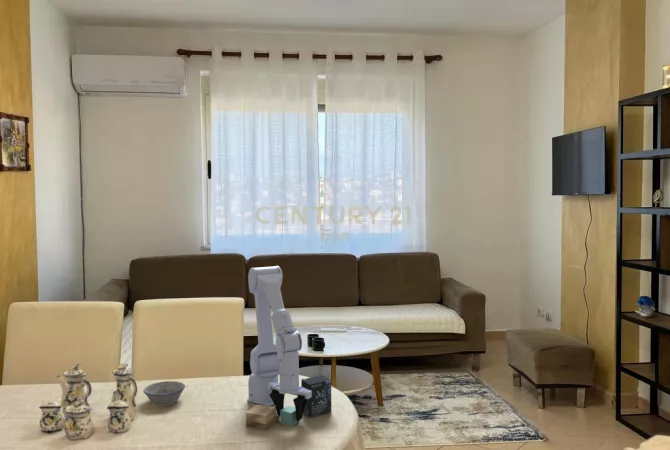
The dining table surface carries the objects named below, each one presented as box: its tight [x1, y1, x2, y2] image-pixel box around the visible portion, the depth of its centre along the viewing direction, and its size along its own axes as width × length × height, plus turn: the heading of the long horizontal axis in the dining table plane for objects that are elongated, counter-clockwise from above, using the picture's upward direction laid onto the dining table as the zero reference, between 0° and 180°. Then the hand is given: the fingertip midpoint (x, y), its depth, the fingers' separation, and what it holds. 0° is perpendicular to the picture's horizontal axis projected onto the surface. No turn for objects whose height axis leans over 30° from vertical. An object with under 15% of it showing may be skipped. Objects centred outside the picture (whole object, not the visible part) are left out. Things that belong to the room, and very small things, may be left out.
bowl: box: [142, 380, 186, 407], centre depth 188 cm, size 13×13×5 cm
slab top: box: [245, 404, 277, 424], centre depth 169 cm, size 6×6×2 cm
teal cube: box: [279, 405, 300, 427], centre depth 171 cm, size 4×4×4 cm
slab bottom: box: [245, 414, 281, 432], centre depth 170 cm, size 7×7×2 cm
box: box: [300, 374, 332, 418], centre depth 178 cm, size 8×6×11 cm
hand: (289, 417), depth 171 cm, fingers open, 6 cm apart
